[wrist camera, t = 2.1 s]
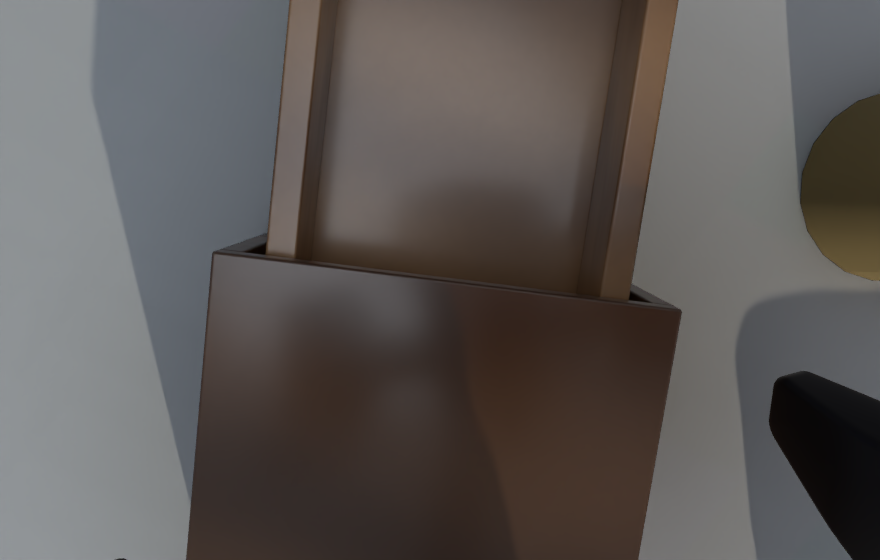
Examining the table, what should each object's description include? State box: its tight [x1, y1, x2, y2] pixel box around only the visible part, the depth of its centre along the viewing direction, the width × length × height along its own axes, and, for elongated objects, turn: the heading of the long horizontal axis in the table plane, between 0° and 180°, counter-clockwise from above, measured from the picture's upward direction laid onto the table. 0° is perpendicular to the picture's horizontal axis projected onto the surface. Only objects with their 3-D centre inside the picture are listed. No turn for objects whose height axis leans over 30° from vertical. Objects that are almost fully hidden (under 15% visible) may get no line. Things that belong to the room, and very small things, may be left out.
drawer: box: [265, 0, 678, 300], centre depth 20 cm, size 17×10×4 cm, turn 173°
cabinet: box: [186, 234, 682, 560], centre depth 22 cm, size 14×12×5 cm
